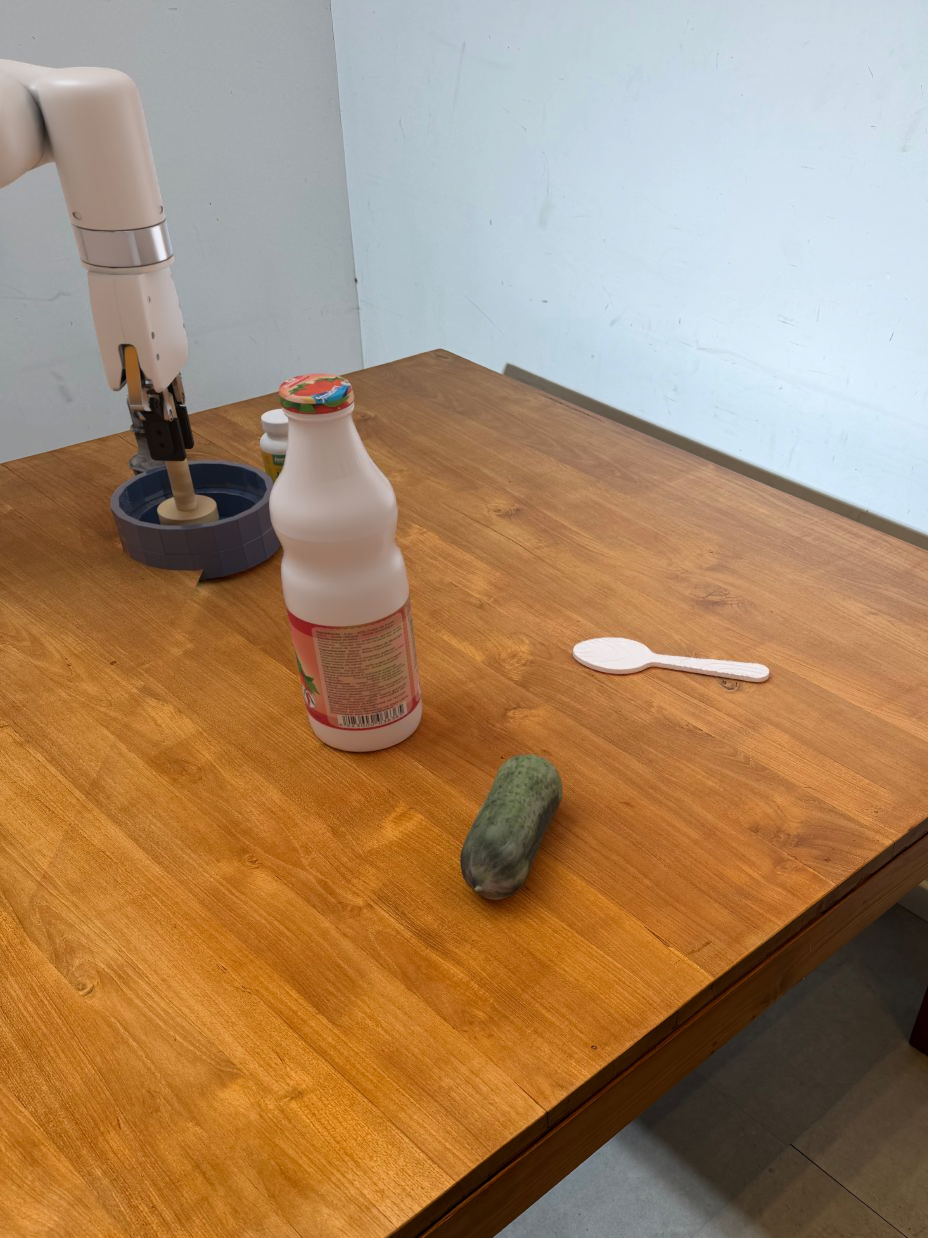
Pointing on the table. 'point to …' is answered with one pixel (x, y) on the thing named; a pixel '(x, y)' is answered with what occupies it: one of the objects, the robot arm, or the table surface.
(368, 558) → the fruit juice
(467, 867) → the vegetable
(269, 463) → the supplement bottle
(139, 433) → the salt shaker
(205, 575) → the bowl
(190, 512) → the wooden masher
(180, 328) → the robot arm
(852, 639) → the table surface
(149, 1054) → the table surface
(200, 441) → the table surface
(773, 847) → the table surface
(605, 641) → the spoon
